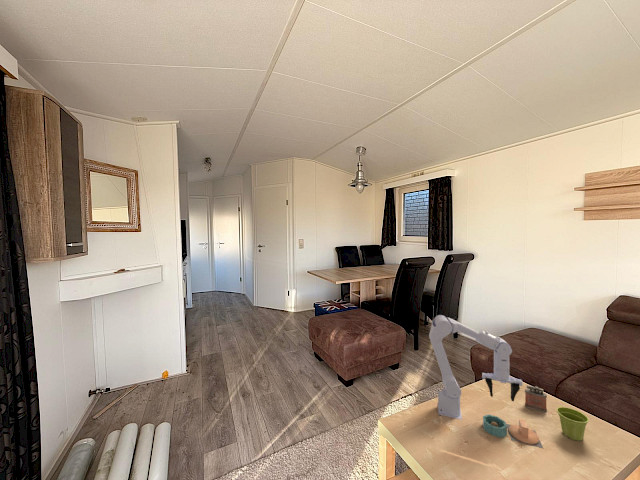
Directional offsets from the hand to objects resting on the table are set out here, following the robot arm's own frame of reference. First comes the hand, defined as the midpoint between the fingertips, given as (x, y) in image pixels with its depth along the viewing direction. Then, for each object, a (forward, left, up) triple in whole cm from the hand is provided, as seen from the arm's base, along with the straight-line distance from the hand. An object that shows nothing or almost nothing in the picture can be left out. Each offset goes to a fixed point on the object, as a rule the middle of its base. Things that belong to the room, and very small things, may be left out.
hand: (501, 397), depth 115 cm
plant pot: (+24, +1, -10) cm, 26 cm away
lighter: (+16, +16, -10) cm, 25 cm away
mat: (+6, -8, -10) cm, 14 cm away
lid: (+6, -8, -9) cm, 14 cm away
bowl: (-4, -9, -10) cm, 14 cm away
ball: (-4, -9, -9) cm, 14 cm away
